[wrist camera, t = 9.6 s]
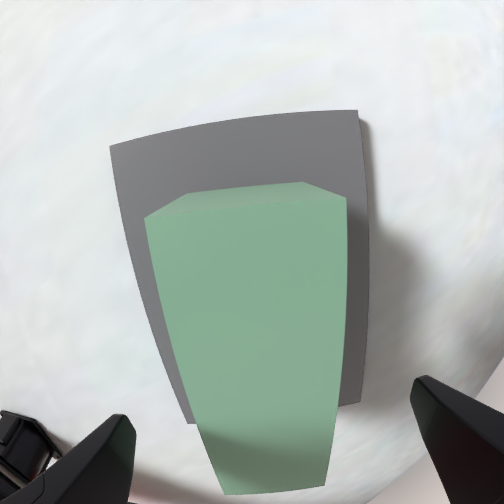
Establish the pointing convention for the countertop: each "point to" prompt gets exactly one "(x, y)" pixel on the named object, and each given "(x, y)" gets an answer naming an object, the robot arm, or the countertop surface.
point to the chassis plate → (242, 175)
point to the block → (257, 325)
